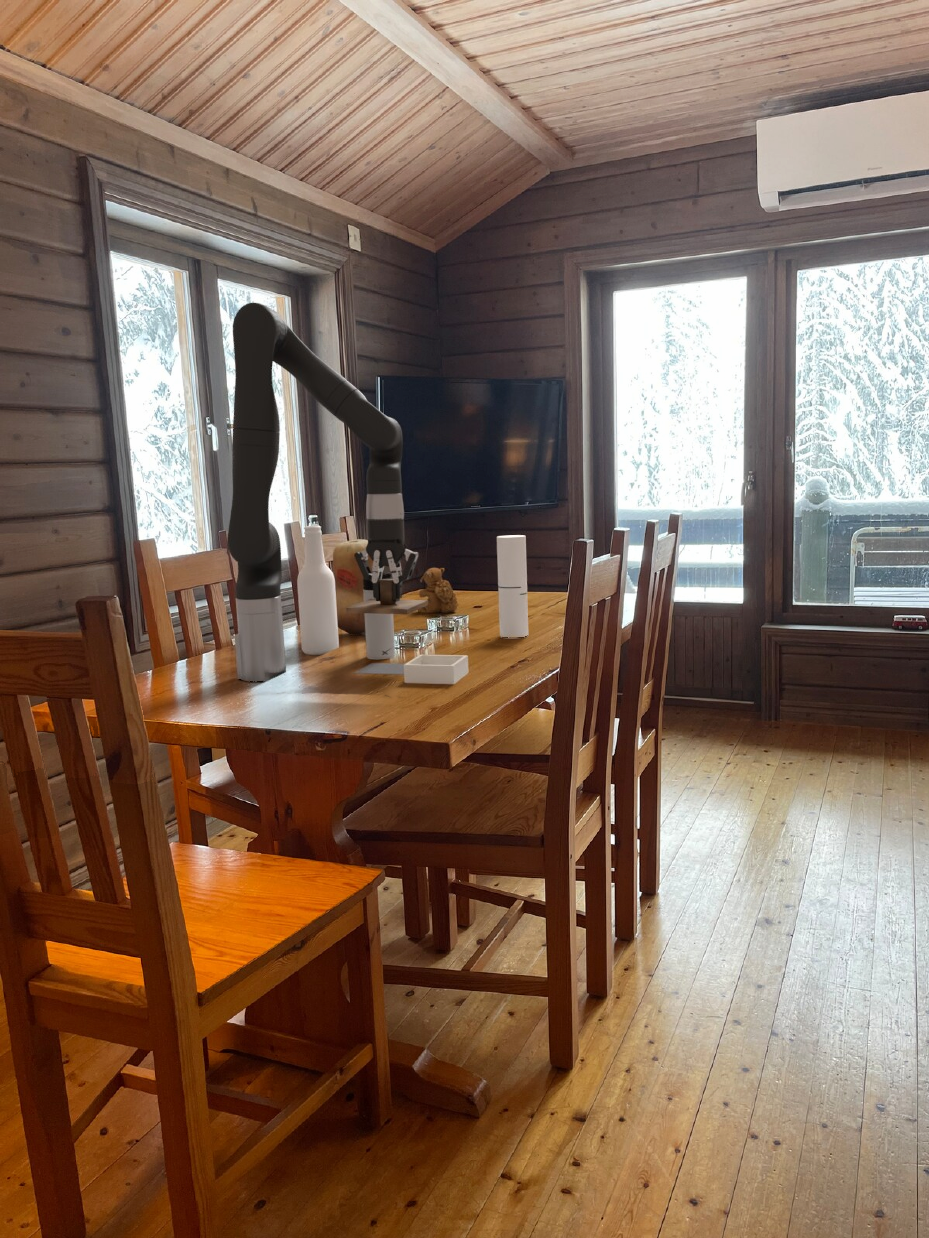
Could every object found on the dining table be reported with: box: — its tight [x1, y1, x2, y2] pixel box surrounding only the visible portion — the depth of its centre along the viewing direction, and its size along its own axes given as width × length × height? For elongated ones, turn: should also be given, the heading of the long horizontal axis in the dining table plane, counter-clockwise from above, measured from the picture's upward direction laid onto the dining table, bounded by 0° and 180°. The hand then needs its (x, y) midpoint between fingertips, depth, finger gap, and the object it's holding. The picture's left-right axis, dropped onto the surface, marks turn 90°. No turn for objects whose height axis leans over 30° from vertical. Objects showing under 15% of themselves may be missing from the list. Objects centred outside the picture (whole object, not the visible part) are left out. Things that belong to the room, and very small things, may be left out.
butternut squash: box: [332, 538, 373, 637], centre depth 240 cm, size 14×13×25 cm
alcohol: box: [296, 525, 340, 656], centre depth 219 cm, size 9×9×30 cm
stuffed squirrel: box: [417, 567, 459, 614], centre depth 277 cm, size 10×14×13 cm
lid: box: [346, 578, 428, 615], centre depth 190 cm, size 13×13×6 cm
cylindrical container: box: [496, 534, 529, 639], centre depth 231 cm, size 7×7×25 cm
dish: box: [403, 654, 469, 685], centre depth 182 cm, size 10×10×5 cm
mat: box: [354, 662, 405, 676], centre depth 192 cm, size 13×10×2 cm
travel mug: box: [363, 572, 396, 660], centre depth 204 cm, size 6×7×20 cm
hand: (388, 600), depth 190 cm, fingers closed on lid, 3 cm apart
